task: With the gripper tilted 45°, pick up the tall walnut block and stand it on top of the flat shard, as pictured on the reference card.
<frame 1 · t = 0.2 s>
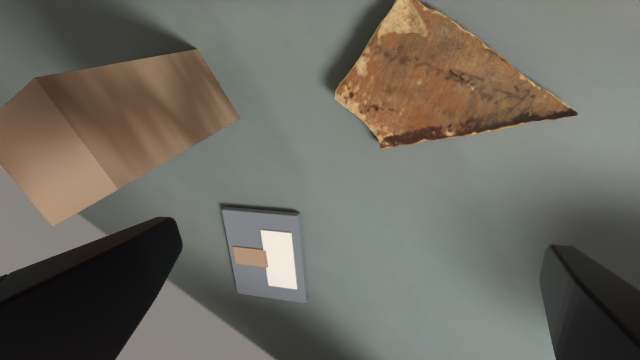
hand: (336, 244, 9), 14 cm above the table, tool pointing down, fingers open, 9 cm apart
shard: (441, 63, 21), on the table
walnut block: (192, 101, 25), on the table
reference card: (267, 254, 29), on the table
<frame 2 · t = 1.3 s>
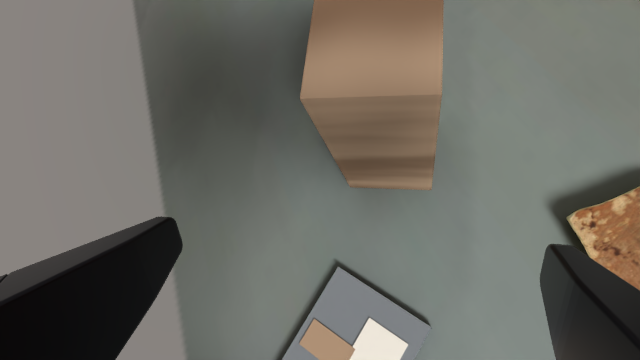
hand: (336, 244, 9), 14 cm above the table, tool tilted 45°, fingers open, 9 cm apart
walnut block: (391, 151, 24), on the table
reference card: (346, 358, 20), on the table
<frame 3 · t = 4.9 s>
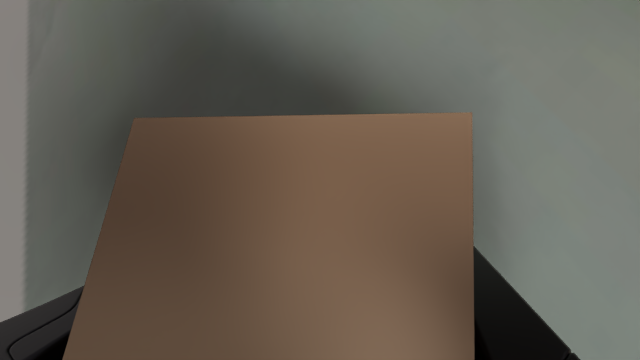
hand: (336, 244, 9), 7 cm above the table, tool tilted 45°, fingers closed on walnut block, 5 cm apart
walnut block: (367, 305, 14), on the table, touching gripper
when the fingers open (10 cm above the table, at t = 10.7 s): walnut block drops 2 cm, point 1 cm above the table.
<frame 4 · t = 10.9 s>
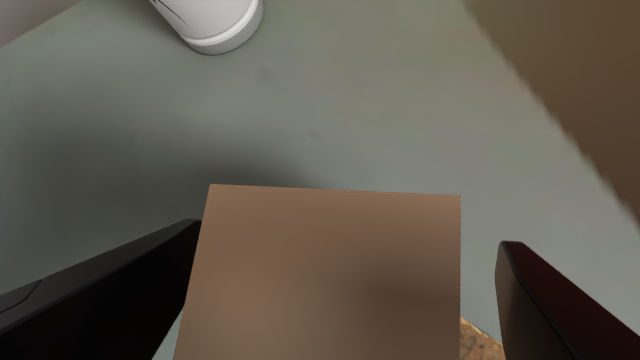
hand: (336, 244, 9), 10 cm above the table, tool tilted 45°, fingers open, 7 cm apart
shard: (378, 303, 19), on the table
travel mug: (224, 20, 27), on the table
walnut block: (373, 311, 17), point 1 cm above the table
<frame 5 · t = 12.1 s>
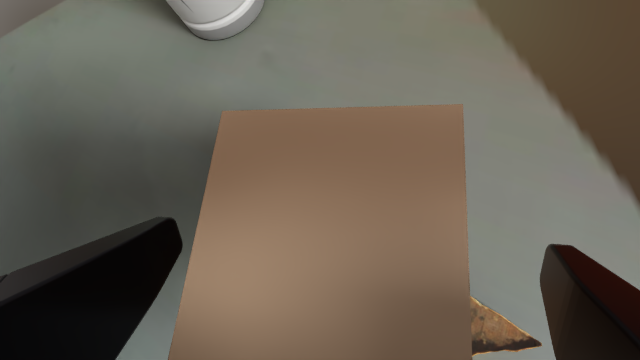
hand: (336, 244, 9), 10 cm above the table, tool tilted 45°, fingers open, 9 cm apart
shard: (379, 280, 19), on the table
travel mug: (226, 6, 27), on the table
walnut block: (372, 284, 17), point 1 cm above the table
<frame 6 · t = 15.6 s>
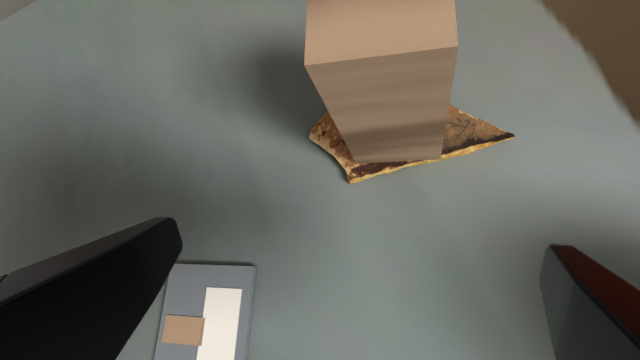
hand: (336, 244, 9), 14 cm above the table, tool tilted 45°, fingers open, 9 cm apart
shard: (398, 121, 25), on the table
walnut block: (396, 123, 23), point 1 cm above the table
reference card: (205, 330, 23), on the table
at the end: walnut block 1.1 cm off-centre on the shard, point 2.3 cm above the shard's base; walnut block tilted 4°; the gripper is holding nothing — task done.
